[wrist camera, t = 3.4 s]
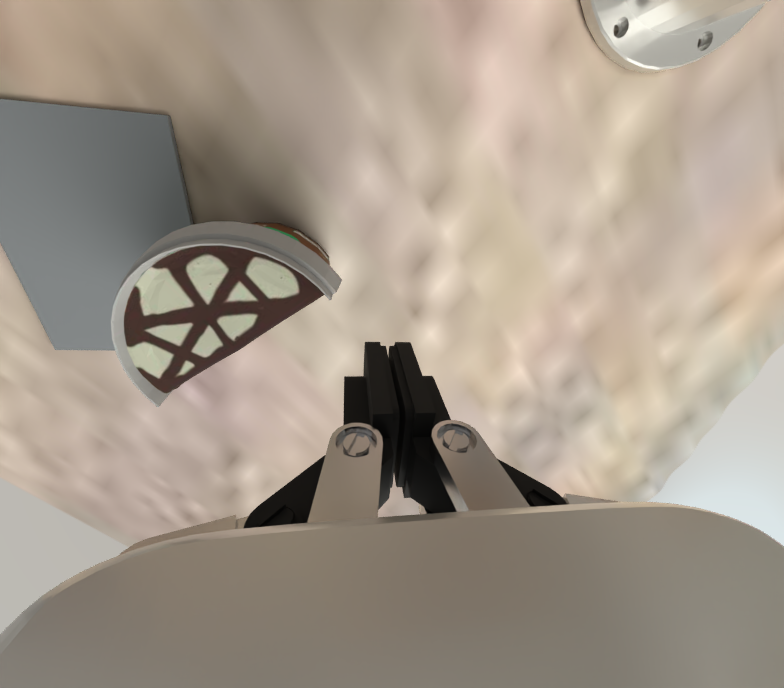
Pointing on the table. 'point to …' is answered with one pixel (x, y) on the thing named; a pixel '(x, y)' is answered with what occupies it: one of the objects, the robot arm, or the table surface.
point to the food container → (211, 297)
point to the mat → (84, 208)
